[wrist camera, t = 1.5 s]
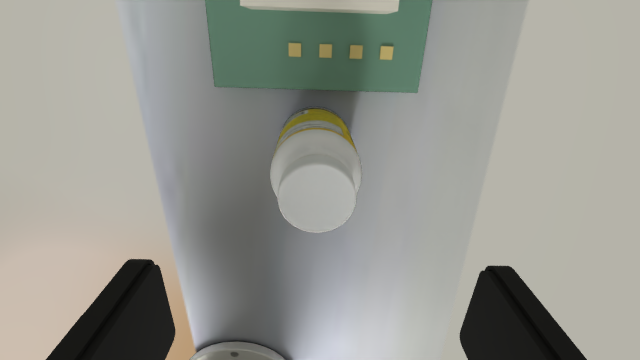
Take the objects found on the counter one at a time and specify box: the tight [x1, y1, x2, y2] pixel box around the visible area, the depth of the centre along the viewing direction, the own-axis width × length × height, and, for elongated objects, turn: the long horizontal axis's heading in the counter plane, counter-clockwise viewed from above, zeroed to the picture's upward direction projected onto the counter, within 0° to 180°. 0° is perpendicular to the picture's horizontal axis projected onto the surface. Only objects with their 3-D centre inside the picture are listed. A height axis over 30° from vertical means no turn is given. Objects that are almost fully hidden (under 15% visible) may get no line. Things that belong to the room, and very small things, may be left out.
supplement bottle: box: [270, 107, 362, 233], centre depth 20 cm, size 5×5×10 cm
